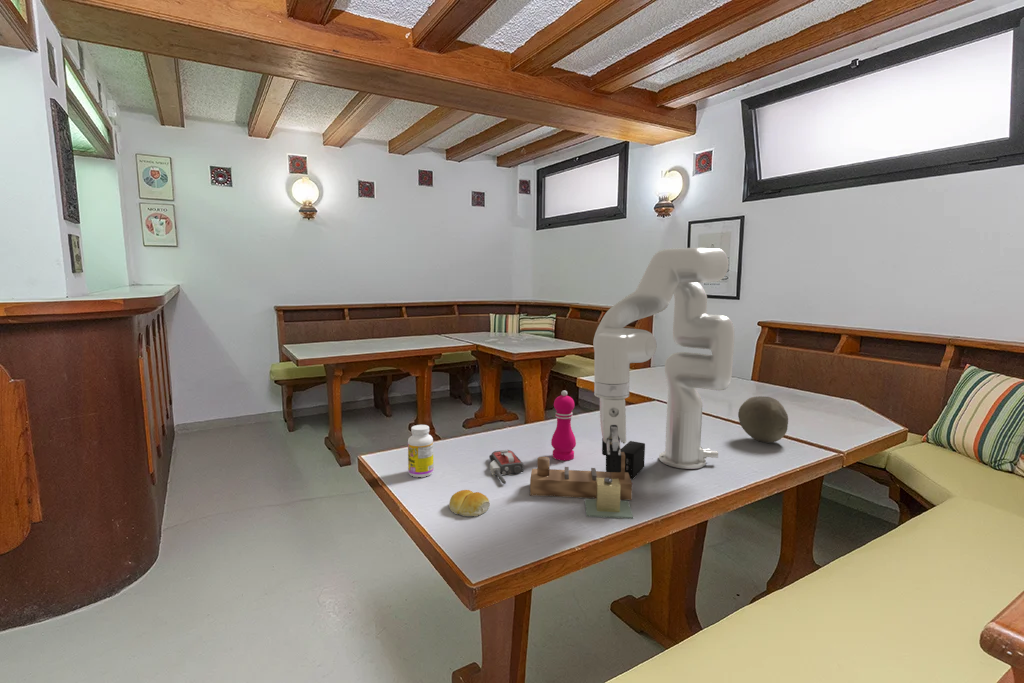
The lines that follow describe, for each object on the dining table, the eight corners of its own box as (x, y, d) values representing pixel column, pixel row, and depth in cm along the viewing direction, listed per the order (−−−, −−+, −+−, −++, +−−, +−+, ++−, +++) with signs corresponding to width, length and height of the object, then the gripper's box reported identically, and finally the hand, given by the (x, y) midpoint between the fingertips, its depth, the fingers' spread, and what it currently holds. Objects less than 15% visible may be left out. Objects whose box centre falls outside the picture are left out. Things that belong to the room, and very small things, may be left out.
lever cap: (617, 503, 113) (618, 476, 112) (619, 512, 108) (620, 483, 108) (595, 502, 113) (596, 474, 113) (596, 511, 109) (597, 482, 108)
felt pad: (628, 502, 114) (628, 500, 114) (633, 518, 106) (633, 517, 106) (584, 500, 115) (584, 498, 115) (586, 516, 107) (586, 514, 107)
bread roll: (463, 498, 117) (463, 482, 116) (494, 507, 112) (494, 490, 112) (441, 511, 110) (440, 494, 110) (473, 521, 105) (472, 504, 105)
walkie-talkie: (482, 461, 142) (500, 488, 123) (482, 446, 142) (500, 471, 122) (511, 458, 144) (533, 484, 125) (511, 443, 144) (533, 467, 125)
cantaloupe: (761, 433, 168) (764, 390, 166) (797, 446, 154) (800, 400, 153) (728, 437, 163) (730, 393, 161) (761, 451, 150) (764, 403, 148)
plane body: (627, 487, 123) (628, 449, 121) (631, 500, 116) (633, 459, 114) (531, 483, 125) (532, 445, 124) (530, 495, 118) (530, 455, 117)
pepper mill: (574, 462, 140) (575, 393, 138) (549, 460, 142) (550, 392, 139) (576, 453, 147) (577, 388, 145) (552, 452, 149) (553, 387, 146)
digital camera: (625, 463, 140) (626, 439, 139) (644, 467, 137) (645, 442, 136) (612, 475, 131) (613, 450, 130) (632, 479, 128) (633, 453, 127)
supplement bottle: (406, 471, 133) (405, 425, 132) (430, 467, 136) (429, 422, 134) (411, 480, 127) (410, 431, 126) (436, 476, 130) (435, 429, 128)
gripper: (634, 399, 99) (633, 479, 101) (624, 380, 116) (623, 449, 118) (597, 398, 100) (596, 478, 102) (592, 380, 117) (592, 448, 119)
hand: (611, 463), depth 110 cm, fingers open, 9 cm apart
